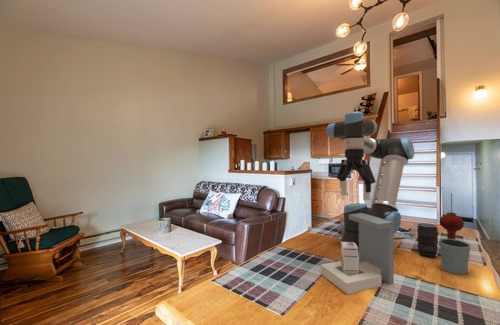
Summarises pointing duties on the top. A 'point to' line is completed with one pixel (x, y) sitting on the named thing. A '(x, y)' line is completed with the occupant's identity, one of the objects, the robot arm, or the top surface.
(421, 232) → the camera lens
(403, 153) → the robot arm
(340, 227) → the chubby cartoon animal
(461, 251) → the grey green cup
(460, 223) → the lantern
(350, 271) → the syrup box
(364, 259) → the socket block
